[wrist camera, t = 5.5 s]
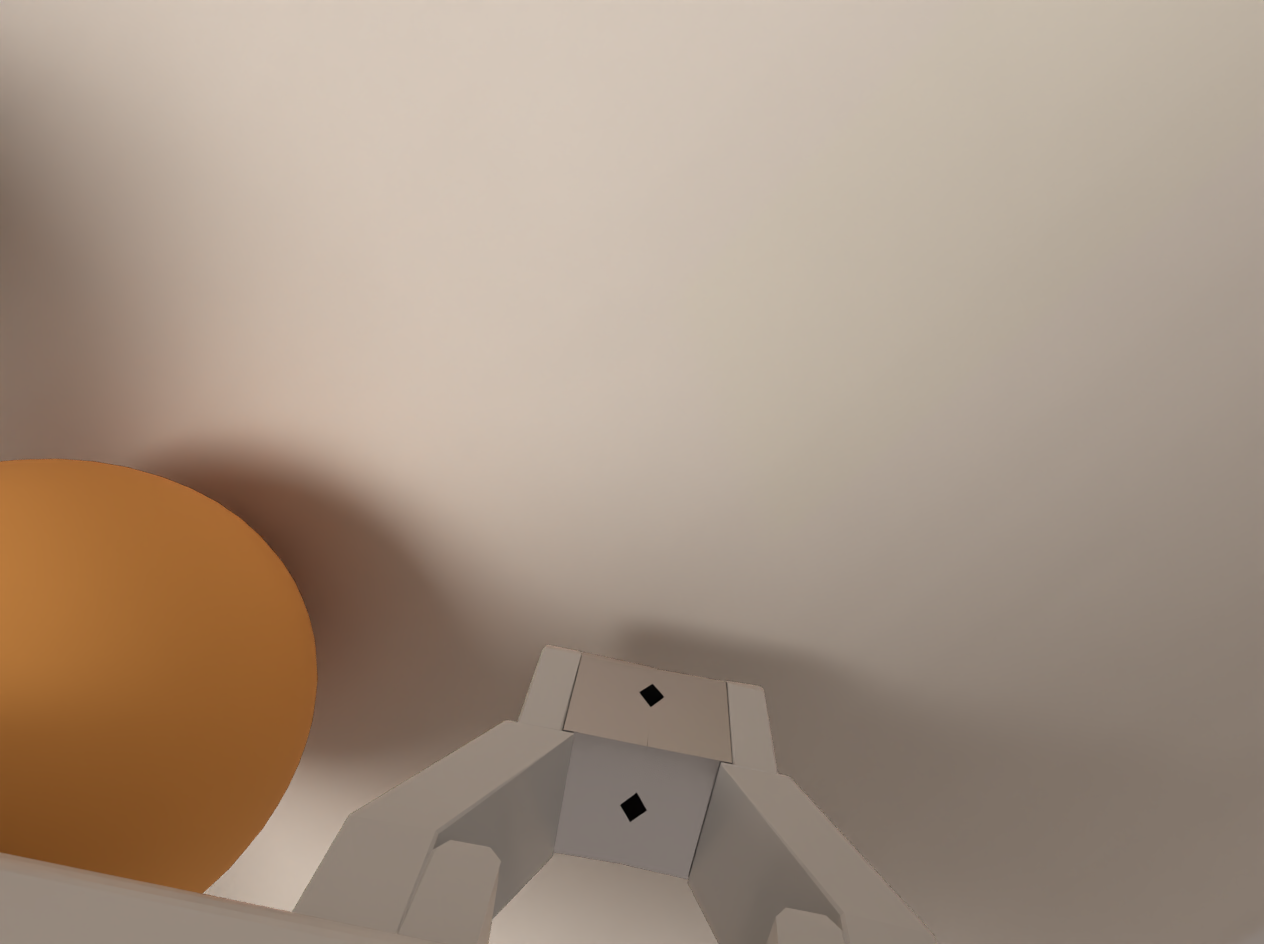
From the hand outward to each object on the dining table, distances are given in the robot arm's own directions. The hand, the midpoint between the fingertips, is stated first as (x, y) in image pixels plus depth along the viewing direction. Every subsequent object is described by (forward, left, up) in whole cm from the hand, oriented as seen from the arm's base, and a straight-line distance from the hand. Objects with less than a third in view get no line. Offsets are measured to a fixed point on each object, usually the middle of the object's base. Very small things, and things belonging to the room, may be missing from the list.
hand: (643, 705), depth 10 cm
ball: (+1, -7, +1) cm, 7 cm away
